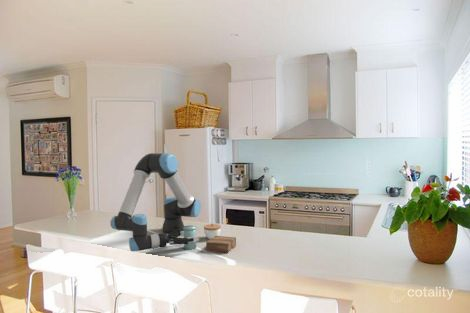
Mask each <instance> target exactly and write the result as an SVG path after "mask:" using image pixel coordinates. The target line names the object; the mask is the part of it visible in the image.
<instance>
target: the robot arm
mask: <svg viewBox="0 0 470 313" xmlns="http://www.w3.org/2000/svg"><path fill="white" fill-rule="evenodd" d="M178 169H179V160H178V158H177V157H176V155H174V154H172V153H168V152H163V153H160V152H159V153H148V154H145V155H144V156H143V157H141V159H140V160H139V161H138V162H137V164H136V165H135V167H134V169H133V173H134V174H133V175H132V176H133V177H132V179H131V182H130V184H129V186H128V189H127V192H126V194H125V197H124V198H123V201H122V203H121V206H120V209H119V211H118V213H117V215H114V216H113V217H112V218H111V220H110V227H111V228H112V229H113V230H117V231H123V232H125V231H126V232H132V237H129V239H128V245H129V246H128V247H129V250H130V251H131V252H140V251H144V250H145V251H146V250H147V251H148V250H155V249H158V248H165V247H166V246H167V244H169V245H171V246H172V245H184V244H188V242H195V241H196V242H199V241H200V238H199V237H200V236H199V235H196V236H194V237H187V238H184V231H183V227H184V226H185V224H184V221H183V219H182V217H188V218H197V217H198V216H199V215H200V214H201V211H202V202H201V201H200V200H199V199H195V197H194V195H192V194H191V193H189V191H188V189H187V188H186V185H185V184H184V182H183V180H182V178H181V177H180V176H179V173H178ZM152 173H155V174H158V176H159V177H160V178H161V179H163V180H165V182H166V184H167V186H168V187H169V189H170V190H171V193H172V194H173V195H174V196H169V197H166V198H164V199H163V213H164V220H163V223H162V228H161V229H162V230H161V231H162V233H154V234H148V221H147V215H146V214H145V213H137V214H134V212H135V209H136V206H137V204H138V202H139V198H140V196H141V193H142V192H143V188H144V187H145V186H144V185H145V183H146V181H147V179H148V178H150V175H151V174H152ZM165 232H166V233H165Z"/></svg>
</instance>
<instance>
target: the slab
mask: <svg viewBox="0 0 470 313" xmlns="http://www.w3.org/2000/svg"><path fill="white" fill-rule="evenodd" d="M235 247H237V236H236V237H233V236H222V235H219V236H214V237H213V238H212V239H208V240H207V241H206V249H205V250H206V252H212V251H216V252H215V253H222V252H229V251H230V250H231V249H232V250H234V249H235ZM232 250H231V251H232ZM231 251H230V252H231ZM230 252H229V253H230Z"/></svg>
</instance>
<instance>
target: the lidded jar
mask: <svg viewBox="0 0 470 313" xmlns="http://www.w3.org/2000/svg"><path fill="white" fill-rule="evenodd" d="M203 231H204V235H205V237H206V238H207V240H210V239H212V238H213V237H214V236H221V231H222V225H221V224H218V223H213V222H212V223H210V224H205V225H204V226H203Z"/></svg>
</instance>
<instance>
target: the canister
mask: <svg viewBox="0 0 470 313" xmlns="http://www.w3.org/2000/svg"><path fill="white" fill-rule="evenodd" d="M183 230H184V236H183V238H187V237H194V236H197V225H184V227H183ZM183 245H184V246H183V249H184V250H186V249H187V250H186V251H191V250H192V249H193V250H196V249H197V241H195V242H188V244H183ZM193 250H192V251H193Z"/></svg>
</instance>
